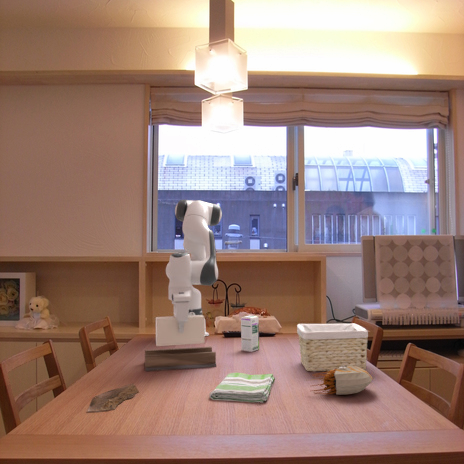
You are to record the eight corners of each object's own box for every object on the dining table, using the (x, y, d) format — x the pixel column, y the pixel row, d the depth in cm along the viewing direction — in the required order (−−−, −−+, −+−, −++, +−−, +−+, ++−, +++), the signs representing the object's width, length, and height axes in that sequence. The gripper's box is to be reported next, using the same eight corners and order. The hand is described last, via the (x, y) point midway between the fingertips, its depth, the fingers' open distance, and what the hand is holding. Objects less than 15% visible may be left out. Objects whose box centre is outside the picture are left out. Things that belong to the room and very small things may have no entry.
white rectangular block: (155, 343, 164) (155, 317, 165) (202, 340, 169) (202, 314, 169) (156, 346, 160) (156, 319, 160) (204, 343, 164) (204, 316, 164)
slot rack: (144, 362, 167) (144, 349, 167) (211, 358, 172) (211, 346, 173) (145, 371, 155) (145, 357, 156) (216, 366, 161) (216, 353, 161)
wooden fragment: (106, 416, 114) (106, 412, 114) (71, 412, 117) (71, 408, 117) (151, 386, 139) (151, 383, 139) (121, 384, 142) (121, 380, 142)
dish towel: (208, 401, 126) (207, 389, 126) (226, 378, 148) (226, 367, 148) (266, 405, 122) (266, 392, 122) (275, 381, 144) (275, 370, 145)
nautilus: (311, 404, 123) (298, 390, 138) (383, 396, 125) (363, 383, 140) (309, 375, 123) (296, 364, 138) (380, 368, 126) (360, 358, 140)
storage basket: (302, 372, 152) (302, 330, 153) (296, 361, 168) (295, 323, 169) (370, 372, 152) (369, 330, 153) (357, 360, 168) (356, 322, 169)
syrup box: (252, 352, 183) (251, 317, 184) (240, 350, 187) (240, 316, 187) (259, 349, 188) (259, 316, 188) (248, 347, 191) (248, 314, 192)
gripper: (169, 292, 174) (170, 326, 174) (173, 297, 155) (174, 336, 154) (185, 292, 176) (185, 326, 175) (191, 297, 156) (191, 335, 155)
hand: (180, 331), depth 164 cm, fingers closed on white rectangular block, 5 cm apart
